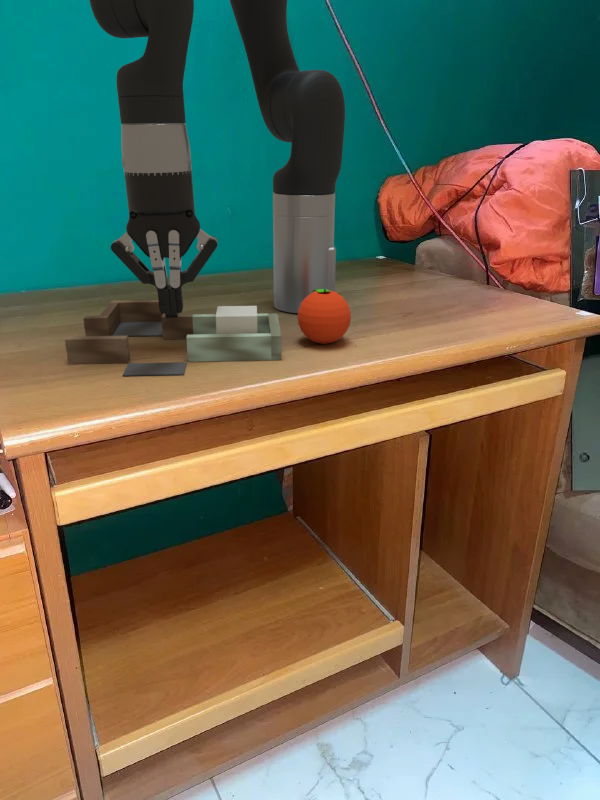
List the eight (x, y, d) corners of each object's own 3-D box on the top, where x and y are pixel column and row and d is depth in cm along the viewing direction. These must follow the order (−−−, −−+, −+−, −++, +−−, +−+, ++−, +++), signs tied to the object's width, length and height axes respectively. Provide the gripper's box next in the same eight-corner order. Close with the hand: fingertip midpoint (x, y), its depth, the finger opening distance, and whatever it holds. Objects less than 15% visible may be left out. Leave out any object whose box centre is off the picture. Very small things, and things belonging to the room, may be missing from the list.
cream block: (257, 343, 83) (256, 305, 81) (257, 355, 78) (257, 316, 76) (219, 343, 83) (217, 306, 81) (217, 355, 78) (215, 316, 76)
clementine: (286, 335, 86) (286, 283, 83) (333, 330, 88) (334, 279, 85) (309, 353, 79) (310, 297, 76) (359, 347, 81) (361, 292, 78)
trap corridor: (274, 318, 93) (274, 298, 92) (283, 373, 72) (283, 348, 71) (101, 321, 91) (98, 300, 90) (57, 377, 70) (53, 352, 69)
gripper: (217, 164, 75) (225, 306, 82) (104, 166, 74) (122, 310, 81) (216, 168, 68) (225, 322, 75) (91, 171, 67) (112, 327, 74)
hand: (172, 316), depth 78 cm, fingers closed
